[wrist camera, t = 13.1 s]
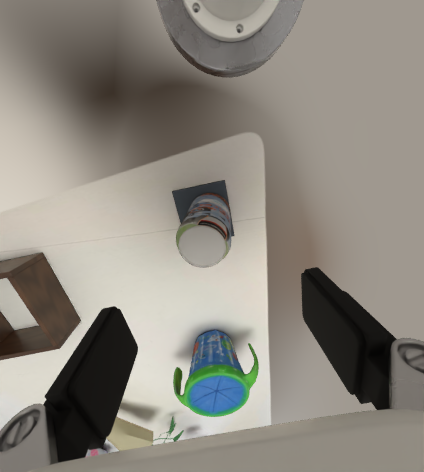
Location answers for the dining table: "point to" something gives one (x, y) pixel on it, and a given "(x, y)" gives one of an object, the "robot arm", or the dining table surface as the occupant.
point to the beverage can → (205, 231)
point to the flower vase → (133, 435)
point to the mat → (190, 194)
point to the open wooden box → (36, 308)
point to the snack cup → (215, 377)
